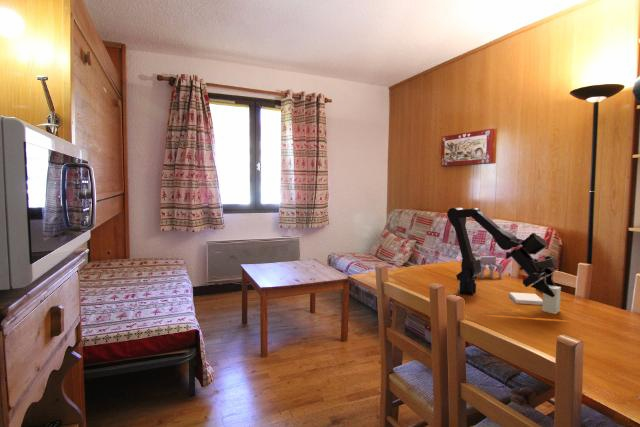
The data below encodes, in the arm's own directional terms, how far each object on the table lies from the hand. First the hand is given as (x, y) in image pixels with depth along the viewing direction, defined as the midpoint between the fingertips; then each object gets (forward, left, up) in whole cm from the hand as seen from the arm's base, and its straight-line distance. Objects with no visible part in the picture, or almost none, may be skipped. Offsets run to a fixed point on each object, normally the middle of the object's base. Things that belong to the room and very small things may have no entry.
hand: (555, 295), depth 132 cm
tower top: (-6, +13, -7) cm, 15 cm away
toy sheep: (-16, +52, -7) cm, 55 cm away
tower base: (-6, +13, -8) cm, 16 cm away
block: (-1, +1, -7) cm, 7 cm away
